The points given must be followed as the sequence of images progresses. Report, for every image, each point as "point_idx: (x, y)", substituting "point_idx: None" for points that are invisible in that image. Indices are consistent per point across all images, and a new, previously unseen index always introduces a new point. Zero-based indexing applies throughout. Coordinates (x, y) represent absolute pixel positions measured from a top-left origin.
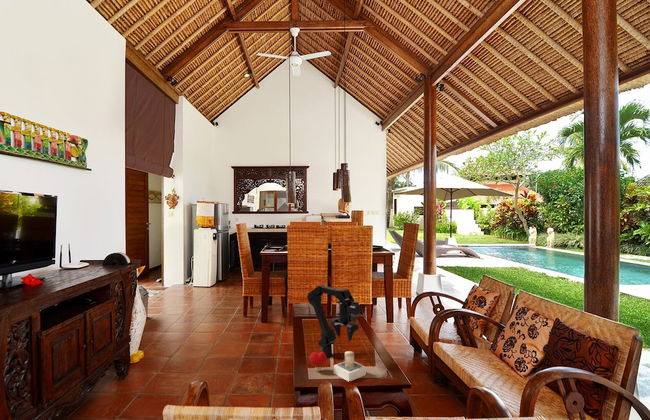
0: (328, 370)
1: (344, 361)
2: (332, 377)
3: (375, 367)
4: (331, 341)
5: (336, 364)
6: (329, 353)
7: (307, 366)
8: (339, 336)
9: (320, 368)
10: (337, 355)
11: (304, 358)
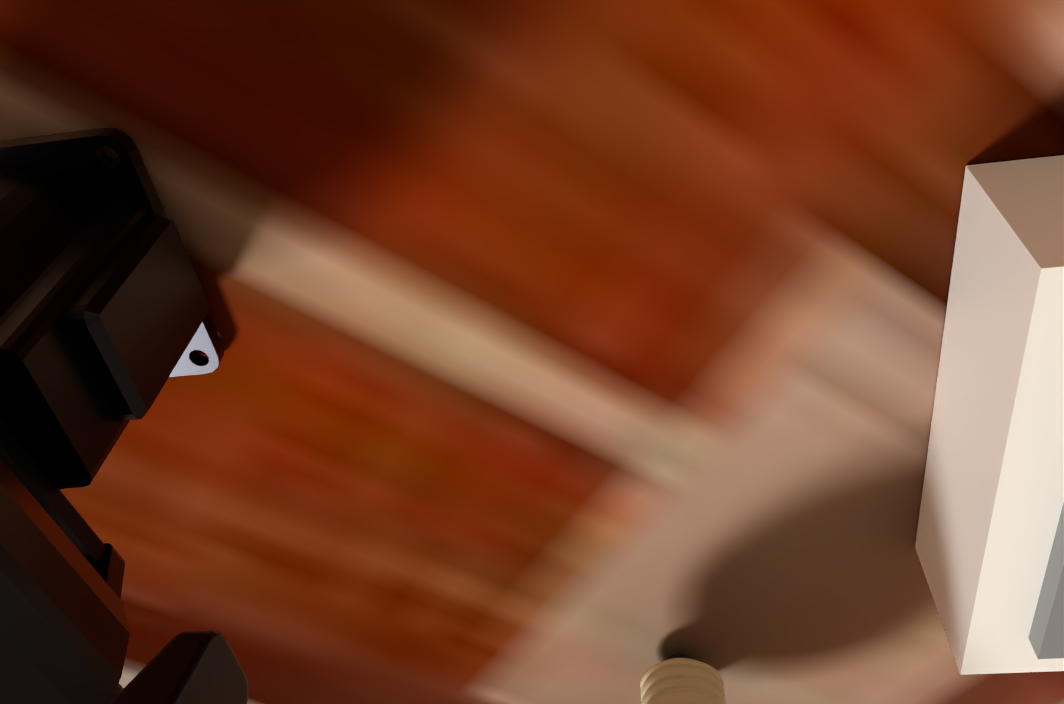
0: (759, 552)
1: (1007, 448)
2: None
3: None
4: (47, 548)
5: (979, 628)
6: (178, 329)
7: (434, 685)
8: (223, 676)
9: (716, 689)
10: (138, 29)
11: None
